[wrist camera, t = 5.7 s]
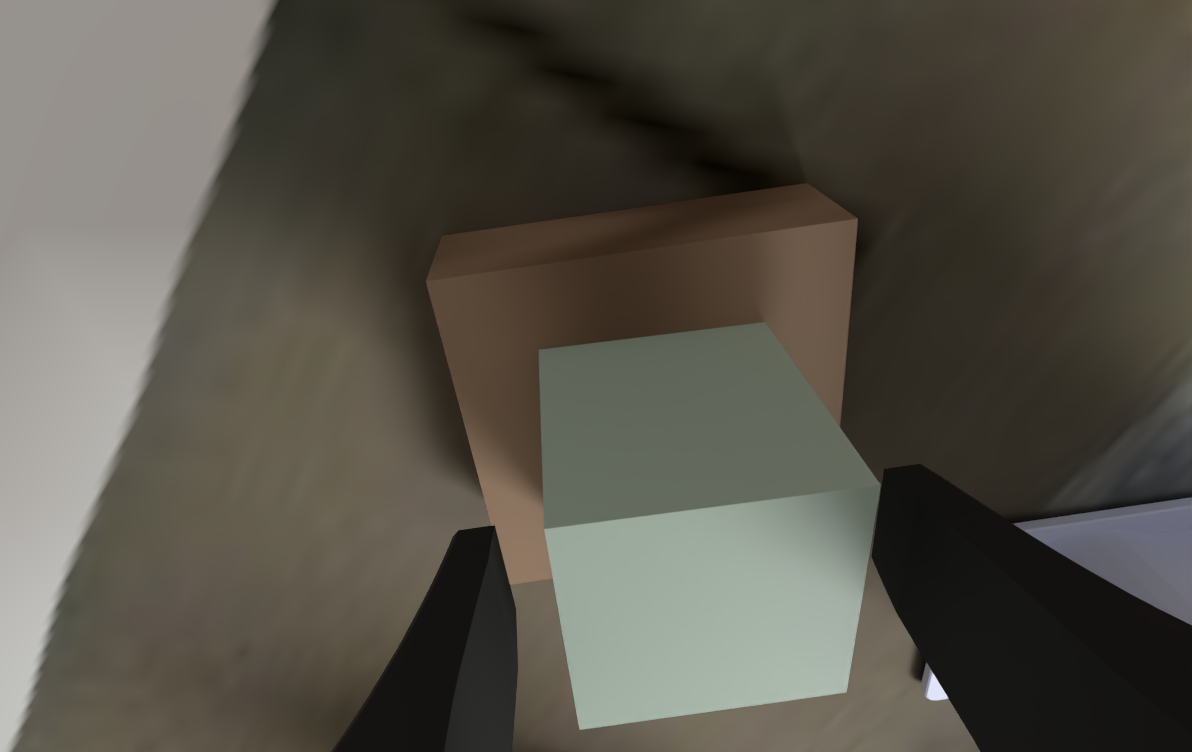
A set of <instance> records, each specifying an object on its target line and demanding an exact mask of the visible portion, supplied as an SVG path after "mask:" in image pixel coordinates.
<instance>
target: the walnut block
mask: <svg viewBox="0 0 1192 752" xmlns="http://www.w3.org/2000/svg"><path fill="white" fill-rule="evenodd" d="M857 225H858V218H856V217H855V216H854V215H852V214H851V213H849V212H848V211H846V210H845V209H844V208H842V207H841V206H839V205H838V204H836V203H835V202H834V201H832V200H831V199H829V198H828V197H826V196H825V195H824V194H822V193H821V192H819V191H818V190H816V189H815V188H814V187H812V186H811V185H809V184H808V183H804V184H797V185H790V186H783V187H776V188H769V189H762V190H755V191H748V192H741V193H735V194H728V195H721V196H714V197H707V198H700V199H693V200H686V201H679V202H672V203H665V204H658V205H651V206H645V207H638V208H631V209H624V210H617V211H610V212H603V213H596V214H589V215H582V216H575V217H568V218H561V219H555V220H548V221H541V222H534V223H527V224H520V225H513V226H506V227H499V228H492V229H485V230H478V231H471V232H464V233H458V234H451V235H444V236H441V239H440V242H439V245H438V248H437V250H436V253H435V256H434V259H433V262H432V265H431V268H430V270H429V273H428V276H427V279H426V284H427V288H428V292H429V295H430V299H431V303H432V306H433V310H434V314H435V318H436V321H437V325H438V329H439V332H440V336H441V340H442V344H443V347H444V351H445V355H446V358H447V362H448V366H449V370H450V373H451V377H452V381H453V385H454V388H455V392H456V396H457V399H458V403H459V407H460V411H461V414H462V418H463V422H464V425H465V429H466V433H467V437H468V440H469V444H470V448H471V451H472V455H473V459H474V463H475V466H476V470H477V474H478V477H479V481H480V485H481V489H482V492H483V496H484V500H485V503H486V507H487V511H488V515H489V518H490V522H491V526H493V525H495V528H496V532H497V536H498V540H499V544H500V548H501V552H502V556H503V560H504V564H505V568H506V572H507V576H508V579H509V583H510V585H512V584H519V583H525V582H532V581H539V580H545V579H552V578H553V576H552V571H551V565H550V559H549V554H548V548H547V542H546V537H545V531H544V508H543V476H542V444H541V412H540V380H539V350H540V349H549V348H557V347H565V346H573V345H581V344H589V343H598V342H606V341H614V340H622V339H630V338H639V337H647V336H655V335H663V334H671V333H679V332H688V331H696V330H704V329H712V328H720V327H729V326H737V325H745V324H753V323H761V322H765V323H766V324H767V325H768V327H769V328H770V330H771V331H772V333H773V334H774V335H775V337H776V338H777V340H778V341H779V342H780V344H781V345H782V347H783V348H784V349H785V351H786V352H787V354H788V355H789V356H790V358H791V359H792V361H793V362H794V363H795V365H796V366H797V368H798V369H799V371H800V372H801V373H802V375H803V376H804V378H805V379H806V380H807V382H808V383H809V385H810V386H811V387H812V389H813V390H814V392H815V393H816V394H817V396H818V397H819V399H820V400H821V401H822V403H823V404H824V406H825V407H826V409H827V410H828V411H829V413H830V414H831V416H832V417H833V418H834V420H835V421H836V423H837V424H838V425H839V427H840V423H841V412H842V400H843V388H844V377H845V365H846V353H847V342H848V330H849V318H850V307H851V295H852V283H853V272H854V260H855V248H856V237H857Z"/></svg>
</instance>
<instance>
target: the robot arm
mask: <svg viewBox="0 0 1192 752" xmlns="http://www.w3.org/2000/svg"><path fill="white" fill-rule="evenodd" d="M872 559H873V561H874V564H875V566H876V568H877V571H878V573H879V575H880V577H881V580H882V582H883V584H884V587H885V589H886V591H887V593H888V595H889V597H890V600H891V602H892V604H893V606H894V608H895V610H896V612H897V614H898V616H899V618H900V619H901V621H902V623H903V624H904V626H905V628H906V629H907V631H908V633H909V634H910V636H911V638H912V639H913V641H914V643H915V644H916V646H917V648H918V649H919V651H920V653H921V654H922V656H923V658H924V659H925V661H926V665H925V670H924V674H923V678H922V683H921V689H922V691H923V693H924V695H925V697H926V698H927V699H930V700H942V699H949V700H950V702H951V703H952V705H953V706H954V708H955V710H956V711H957V713H958V715H959V716H960V718H961V720H962V721H963V723H964V724H965V726H966V728H967V729H968V731H969V733H970V734H971V736H972V737H973V739H974V741H975V743H976V744H977V746H978V748H979V750H980V752H1192V497H1190V498H1184V499H1177V500H1170V501H1163V502H1156V503H1150V504H1143V505H1136V506H1129V507H1122V508H1115V509H1109V510H1102V511H1095V512H1088V513H1081V514H1075V515H1068V516H1061V517H1054V518H1047V519H1040V520H1034V521H1027V522H1020V523H1013V524H1012V523H1011V522H1009V521H1008V520H1006V519H1005V518H1003V517H1002V516H1000V515H998V514H997V513H995V512H994V511H992V510H991V509H989V508H988V507H986V506H985V505H983V504H982V503H980V502H979V501H977V500H975V499H974V498H972V497H971V496H969V495H968V494H966V493H965V492H963V491H962V490H960V489H959V488H957V487H956V486H954V485H953V484H951V483H950V482H948V481H946V480H945V479H943V478H942V477H940V476H939V475H937V474H935V473H934V472H932V471H931V470H929V469H927V468H926V467H924V466H923V465H921V464H916V465H909V466H902V467H895V468H888V469H884V474H883V481H882V488H881V495H880V502H879V508H878V515H877V522H876V529H875V536H874V543H873V550H872ZM517 674H518V656H517V624H516V607H515V603H514V599H513V595H512V591H511V587H510V583H509V579H508V576H507V572H506V568H505V564H504V560H503V556H502V552H501V548H500V544H499V540H498V536H497V532H496V528H495V525H493V526H486V527H479V528H472V529H465V530H458V532H457V533H456V534H455V535H454V536H453V538H452V540H451V543H450V545H449V548H448V550H447V552H446V554H445V557H444V559H443V561H442V563H441V565H440V568H439V570H438V572H437V574H436V576H435V578H434V580H433V582H432V584H431V586H430V588H429V590H428V592H427V594H426V596H425V598H424V600H423V602H422V604H421V606H420V608H419V610H418V612H417V614H416V615H415V617H414V619H413V621H412V623H411V625H410V627H409V628H408V630H407V632H406V634H405V636H404V638H403V640H402V641H401V643H400V645H399V647H398V649H397V650H396V652H395V654H394V655H393V657H392V659H391V660H390V662H389V664H388V665H387V667H386V669H385V670H384V672H383V674H382V675H381V677H380V679H379V680H378V682H377V683H376V685H375V687H374V688H373V690H372V692H371V693H370V695H369V697H368V698H367V700H366V701H365V703H364V704H363V706H362V708H361V709H360V711H359V712H358V714H357V715H356V717H355V718H354V720H353V721H352V723H351V724H350V726H349V727H348V729H347V730H346V732H345V733H344V735H343V736H342V737H341V739H340V740H339V742H338V743H337V744H336V746H335V747H334V749H333V750H332V752H512V741H513V728H514V715H515V702H516V688H517Z"/></svg>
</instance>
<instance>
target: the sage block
mask: <svg viewBox="0 0 1192 752" xmlns="http://www.w3.org/2000/svg"><path fill="white" fill-rule="evenodd" d="M539 380H540V412H541V444H542V476H543V508H544V531H545V537H546V542H547V548H548V554H549V559H550V565H551V571H552V576H553V582H554V588H555V593H556V599H557V605H558V611H559V616H560V622H561V628H562V633H563V639H564V645H565V650H566V656H567V662H568V667H569V673H570V679H571V684H572V690H573V696H574V701H575V707H576V713H577V718H578V724H579V730H582V729H589V728H597V727H604V726H611V725H618V724H625V723H632V722H639V721H646V720H654V719H661V718H668V717H675V716H682V715H689V714H696V713H703V712H711V711H718V710H725V709H732V708H739V707H746V706H753V705H760V704H768V703H775V702H782V701H789V700H796V699H803V698H810V697H817V696H825V695H832V694H839V693H846V691H847V685H848V679H849V673H850V667H851V661H852V655H853V649H854V643H855V637H856V631H857V625H858V619H859V613H860V607H861V601H862V596H863V590H864V584H865V578H866V572H867V566H868V560H869V554H870V548H871V542H872V536H873V530H874V524H875V518H876V512H877V506H878V500H879V494H880V488H881V485H880V483H879V482H878V480H877V479H876V477H875V476H874V475H873V473H872V472H871V470H870V469H869V468H868V466H867V465H866V463H865V462H864V461H863V459H862V458H861V456H860V455H859V454H858V452H857V451H856V449H855V448H854V447H853V445H852V444H851V442H850V441H849V439H848V438H847V437H846V435H845V434H844V432H843V431H842V430H841V428H840V427H839V425H838V424H837V423H836V421H835V420H834V418H833V417H832V416H831V414H830V413H829V411H828V410H827V409H826V407H825V406H824V404H823V403H822V401H821V400H820V399H819V397H818V396H817V394H816V393H815V392H814V390H813V389H812V387H811V386H810V385H809V383H808V382H807V380H806V379H805V378H804V376H803V375H802V373H801V372H800V371H799V369H798V368H797V366H796V365H795V363H794V362H793V361H792V359H791V358H790V356H789V355H788V354H787V352H786V351H785V349H784V348H783V347H782V345H781V344H780V342H779V341H778V340H777V338H776V337H775V335H774V334H773V333H772V331H771V330H770V328H769V327H768V325H767V324H766V323H765V322H761V323H753V324H745V325H737V326H729V327H720V328H712V329H704V330H696V331H688V332H679V333H671V334H663V335H655V336H647V337H639V338H630V339H622V340H614V341H606V342H598V343H589V344H581V345H573V346H565V347H557V348H549V349H540V350H539Z"/></svg>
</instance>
